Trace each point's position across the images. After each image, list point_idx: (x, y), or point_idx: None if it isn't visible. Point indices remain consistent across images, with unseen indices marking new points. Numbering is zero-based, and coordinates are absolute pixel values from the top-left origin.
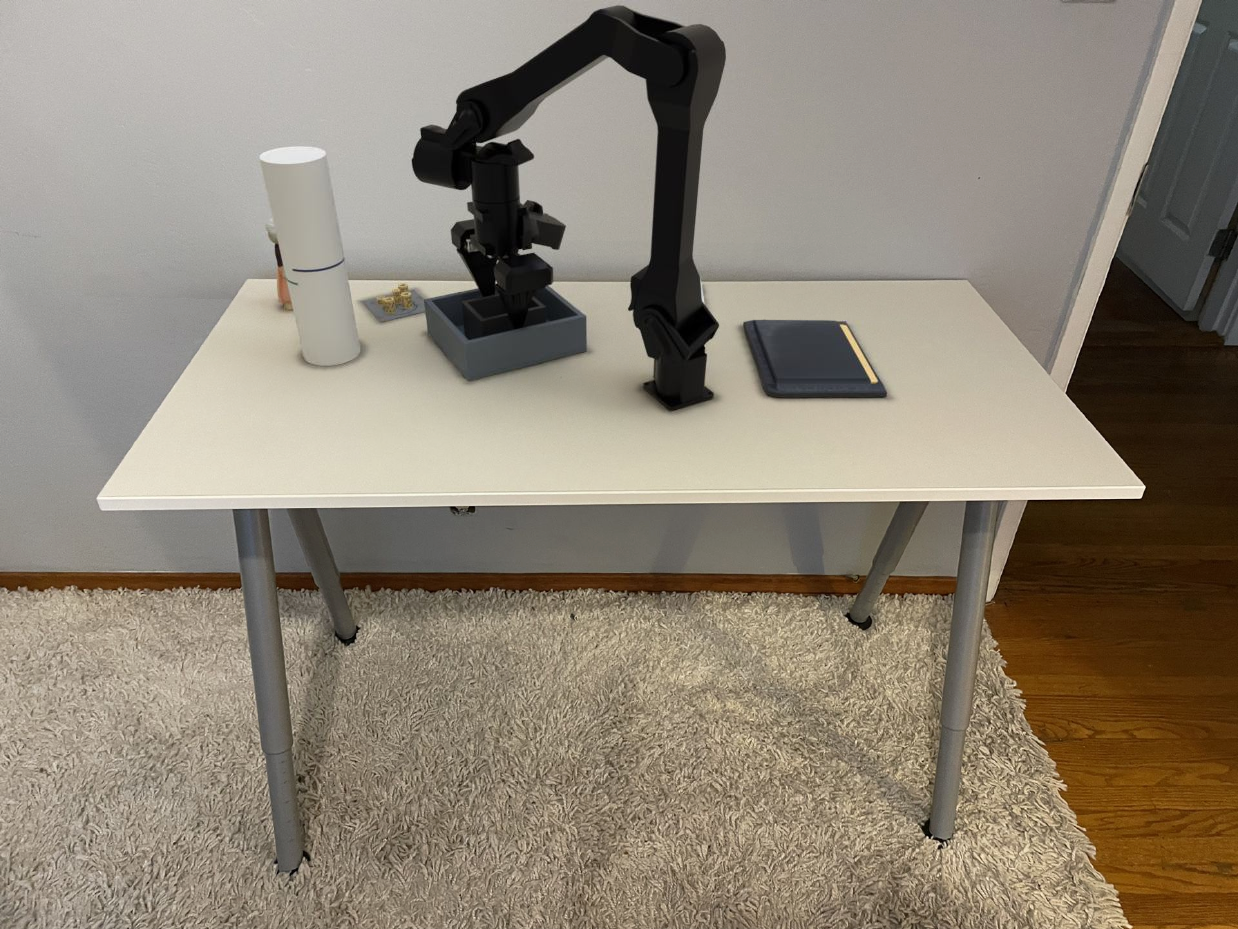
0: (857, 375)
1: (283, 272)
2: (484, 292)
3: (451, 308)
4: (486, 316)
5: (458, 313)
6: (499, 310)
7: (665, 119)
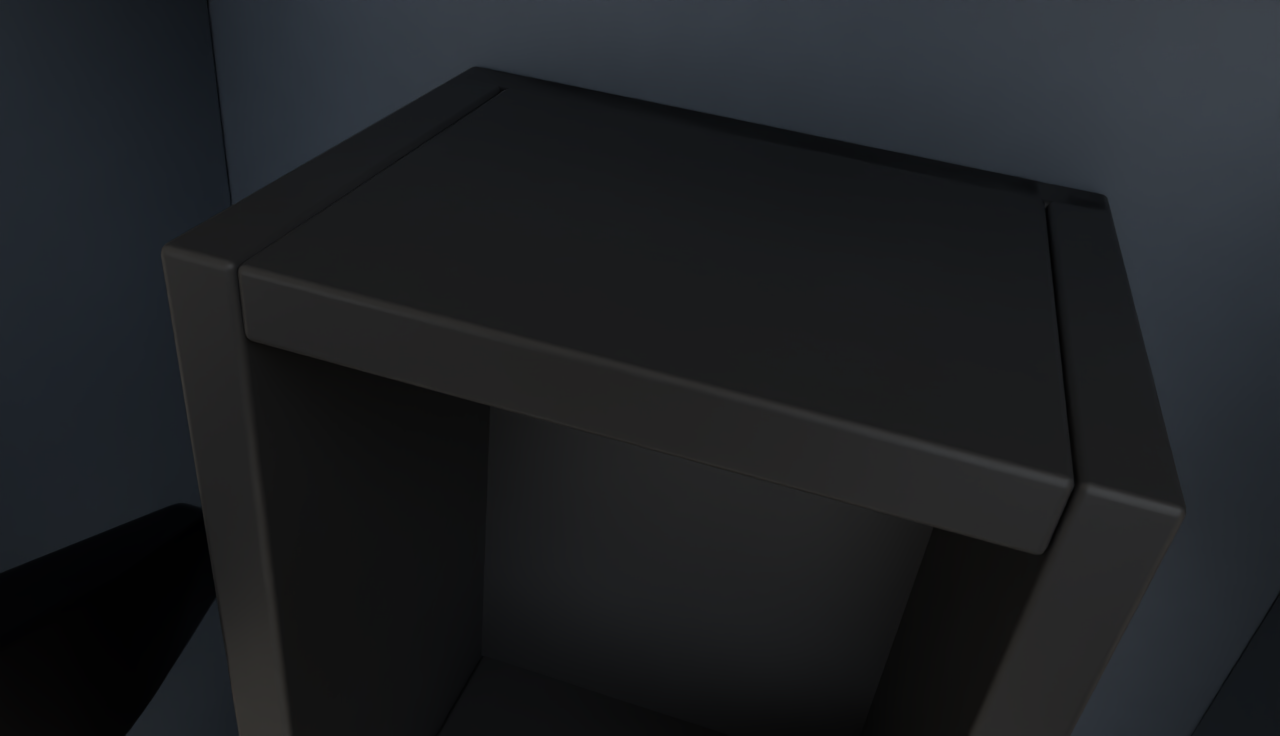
0: None
1: None
2: (129, 707)
3: (167, 731)
4: (420, 621)
5: (202, 641)
6: (400, 526)
7: None
